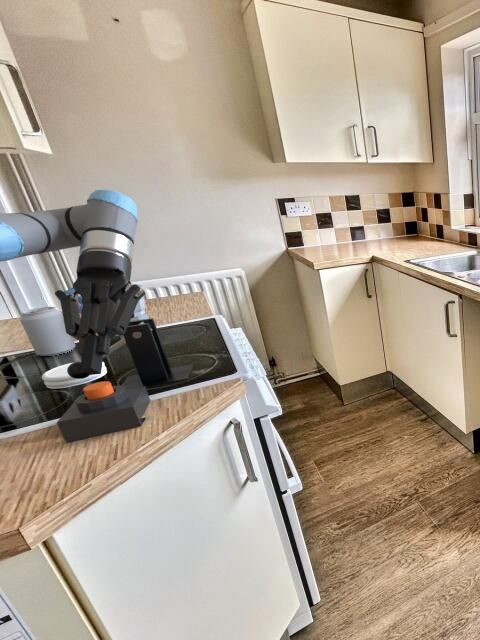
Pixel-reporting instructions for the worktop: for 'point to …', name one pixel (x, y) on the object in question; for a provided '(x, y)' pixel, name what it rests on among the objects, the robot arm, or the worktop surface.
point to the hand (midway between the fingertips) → (90, 371)
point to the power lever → (74, 368)
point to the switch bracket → (150, 357)
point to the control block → (104, 414)
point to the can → (47, 331)
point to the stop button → (98, 390)
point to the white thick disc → (67, 377)
